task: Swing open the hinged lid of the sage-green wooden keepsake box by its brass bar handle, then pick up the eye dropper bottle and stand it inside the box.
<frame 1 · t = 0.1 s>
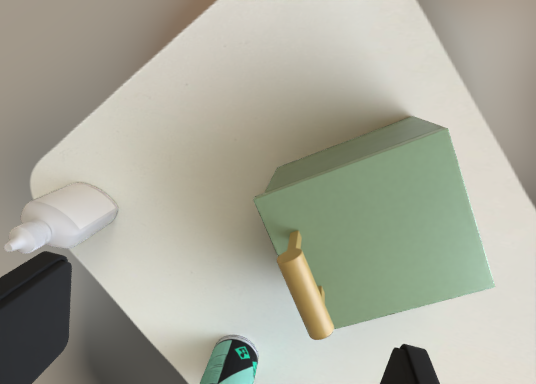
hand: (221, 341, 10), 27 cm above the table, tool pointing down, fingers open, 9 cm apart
eye dropper bottle: (96, 200, 41), on the table
lid: (377, 256, 25), point 12 cm above the table, hinge at 0.0°
spray can: (236, 353, 44), on the table
chest: (363, 201, 37), on the table
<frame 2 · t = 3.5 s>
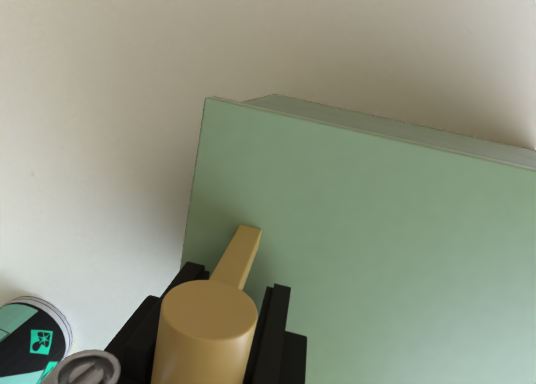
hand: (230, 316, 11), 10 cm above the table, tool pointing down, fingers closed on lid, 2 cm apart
spray can: (38, 328, 26), on the table
chest: (367, 232, 21), on the table
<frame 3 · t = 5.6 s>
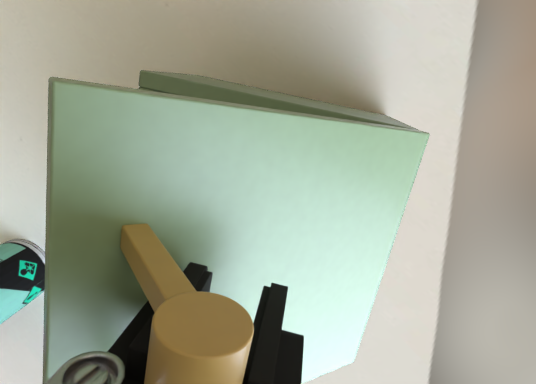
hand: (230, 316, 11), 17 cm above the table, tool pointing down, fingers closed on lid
lid: (307, 320, 12), point 16 cm above the table, hinge at 42.1°, touching gripper
spray can: (26, 266, 33), on the table
chest: (272, 179, 28), on the table
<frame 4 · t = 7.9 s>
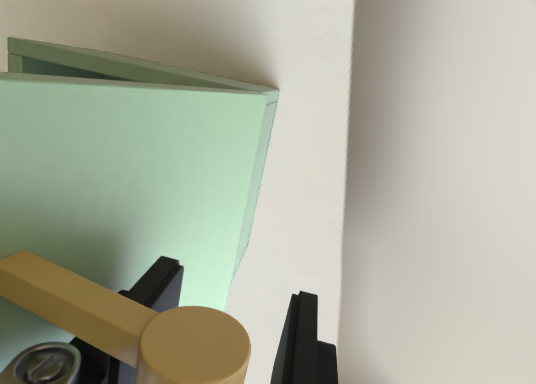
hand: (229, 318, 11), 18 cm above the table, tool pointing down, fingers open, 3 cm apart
lid: (213, 295, 12), point 17 cm above the table, hinge at 75.9°, touching gripper
chest: (178, 152, 29), on the table
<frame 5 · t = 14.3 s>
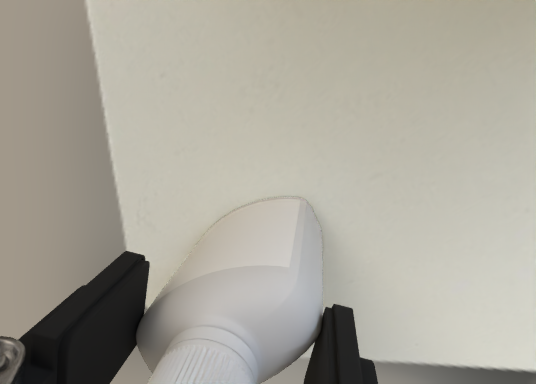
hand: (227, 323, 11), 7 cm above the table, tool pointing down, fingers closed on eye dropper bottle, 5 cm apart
eye dropper bottle: (262, 232, 18), on the table, touching gripper
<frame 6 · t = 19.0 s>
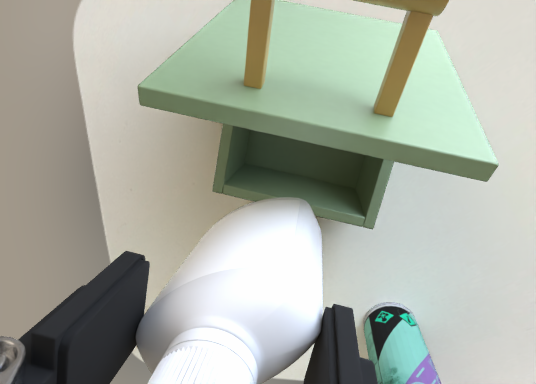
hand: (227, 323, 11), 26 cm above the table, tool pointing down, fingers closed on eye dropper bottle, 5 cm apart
eye dropper bottle: (262, 233, 18), point 19 cm above the table, touching gripper
lid: (340, 0, 16), point 17 cm above the table, hinge at 66.2°
spray can: (389, 323, 40), on the table
chest: (314, 112, 34), on the table
when the fingers open (8 cm above the table, at t = 23.7 s): eye dropper bottle stays where it is, resting on chest.
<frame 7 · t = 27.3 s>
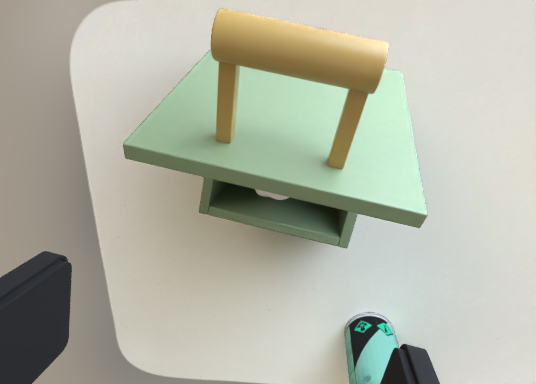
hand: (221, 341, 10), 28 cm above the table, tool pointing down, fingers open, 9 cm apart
lid: (304, 58, 19), point 17 cm above the table, hinge at 66.2°
spray can: (368, 331, 42), on the table
chest: (296, 135, 37), on the table
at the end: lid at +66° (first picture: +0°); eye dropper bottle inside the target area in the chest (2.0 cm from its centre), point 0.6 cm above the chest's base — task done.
